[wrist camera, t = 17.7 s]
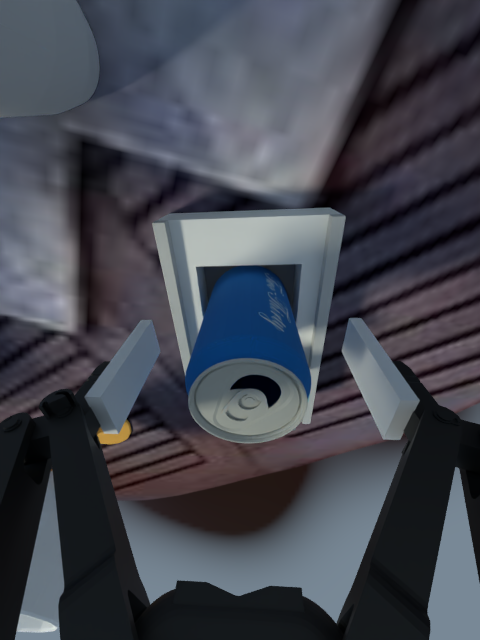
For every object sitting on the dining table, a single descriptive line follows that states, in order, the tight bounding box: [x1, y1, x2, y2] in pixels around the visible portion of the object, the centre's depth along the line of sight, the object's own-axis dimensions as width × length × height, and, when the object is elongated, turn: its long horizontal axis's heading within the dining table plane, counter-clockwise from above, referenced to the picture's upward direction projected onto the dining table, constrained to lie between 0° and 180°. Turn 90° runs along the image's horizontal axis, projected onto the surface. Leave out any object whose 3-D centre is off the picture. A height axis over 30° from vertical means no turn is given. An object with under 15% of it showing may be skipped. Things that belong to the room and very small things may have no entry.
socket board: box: [152, 207, 346, 424], centre depth 22 cm, size 12×20×4 cm, turn 2°
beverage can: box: [185, 265, 311, 443], centre depth 17 cm, size 6×6×12 cm
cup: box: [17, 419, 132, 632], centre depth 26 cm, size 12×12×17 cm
